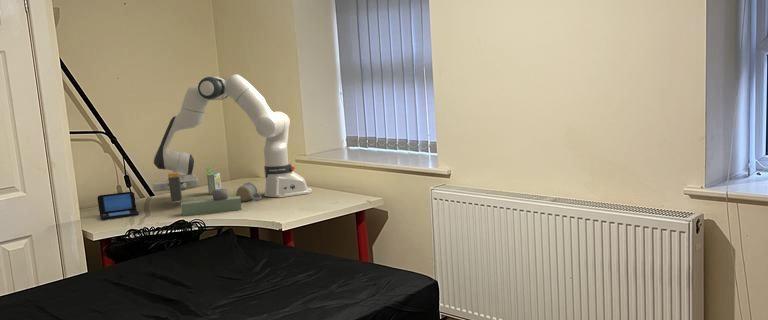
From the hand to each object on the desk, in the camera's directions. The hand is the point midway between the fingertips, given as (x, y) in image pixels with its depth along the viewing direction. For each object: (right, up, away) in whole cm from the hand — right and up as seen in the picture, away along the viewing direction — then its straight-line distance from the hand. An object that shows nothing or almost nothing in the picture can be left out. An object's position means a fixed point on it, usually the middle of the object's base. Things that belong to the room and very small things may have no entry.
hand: (175, 187), depth 322 cm
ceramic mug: (+32, -6, +8) cm, 34 cm away
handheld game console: (-23, -12, -7) cm, 27 cm away
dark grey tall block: (0, -6, +2) cm, 6 cm away
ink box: (+11, -4, +31) cm, 33 cm away
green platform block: (+19, -10, -9) cm, 23 cm away
